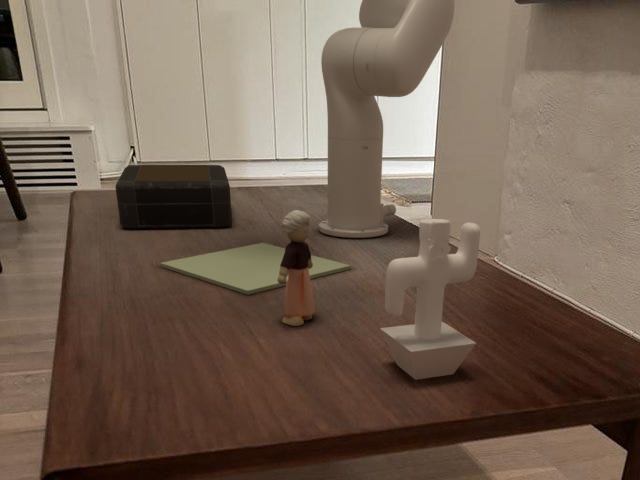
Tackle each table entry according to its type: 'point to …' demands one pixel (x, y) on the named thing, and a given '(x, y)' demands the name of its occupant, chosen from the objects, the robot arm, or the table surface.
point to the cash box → (174, 197)
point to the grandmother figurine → (297, 270)
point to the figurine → (430, 300)
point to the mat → (246, 267)
